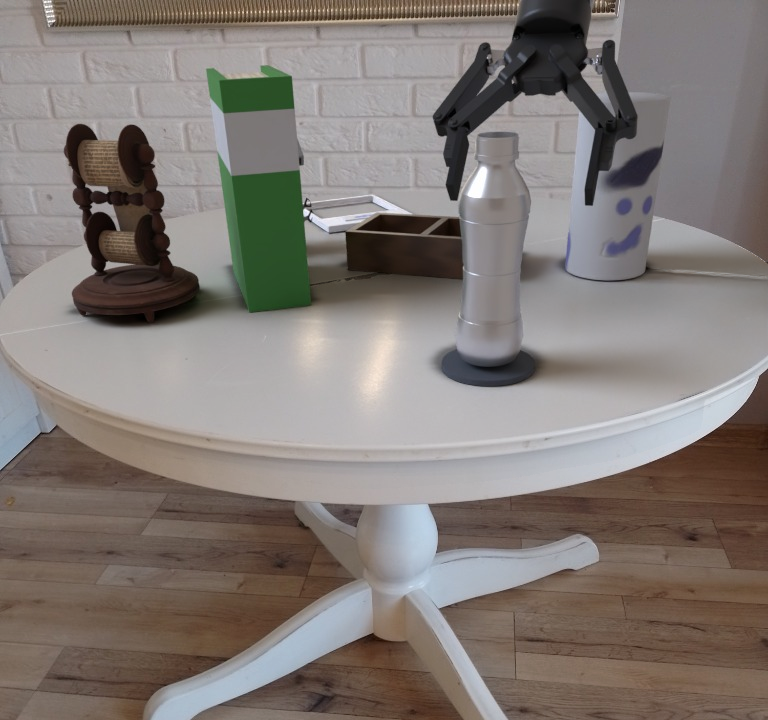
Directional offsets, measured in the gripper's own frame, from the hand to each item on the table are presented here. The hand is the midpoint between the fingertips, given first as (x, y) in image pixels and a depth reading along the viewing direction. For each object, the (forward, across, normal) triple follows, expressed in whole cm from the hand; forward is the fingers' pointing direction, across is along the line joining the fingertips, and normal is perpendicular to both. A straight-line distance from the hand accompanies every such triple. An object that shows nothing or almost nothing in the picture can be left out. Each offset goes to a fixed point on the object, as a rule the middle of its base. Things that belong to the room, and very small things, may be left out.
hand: (518, 195), depth 78 cm
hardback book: (+5, +32, -15) cm, 36 cm away
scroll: (+12, +45, -7) cm, 47 cm away
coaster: (+17, 0, -2) cm, 17 cm away
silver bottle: (+17, 0, -2) cm, 17 cm away
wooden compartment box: (-6, +15, -25) cm, 30 cm away
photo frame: (-22, +36, -42) cm, 60 cm away
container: (-7, -7, -27) cm, 29 cm away
